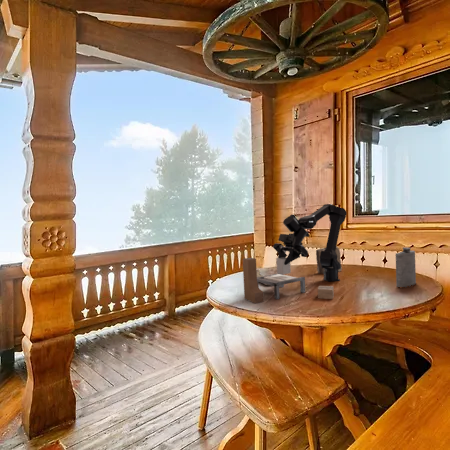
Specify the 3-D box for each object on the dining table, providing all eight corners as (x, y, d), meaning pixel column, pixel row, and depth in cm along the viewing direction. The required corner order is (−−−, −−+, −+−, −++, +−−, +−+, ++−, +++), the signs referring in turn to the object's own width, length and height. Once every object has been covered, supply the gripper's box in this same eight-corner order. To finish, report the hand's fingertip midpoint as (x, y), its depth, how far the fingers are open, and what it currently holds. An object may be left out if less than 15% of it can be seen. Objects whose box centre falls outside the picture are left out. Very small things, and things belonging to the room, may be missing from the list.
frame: (276, 299, 134) (276, 283, 134) (254, 292, 148) (253, 277, 147) (305, 292, 144) (304, 277, 143) (281, 286, 157) (281, 272, 157)
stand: (319, 294, 139) (319, 285, 138) (333, 295, 136) (333, 286, 136) (318, 298, 133) (317, 289, 133) (332, 299, 131) (332, 289, 131)
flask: (418, 283, 150) (417, 246, 149) (403, 288, 142) (402, 249, 141) (410, 282, 153) (409, 245, 152) (395, 287, 145) (394, 248, 144)
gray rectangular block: (283, 271, 150) (283, 257, 150) (290, 273, 146) (290, 258, 146) (276, 273, 148) (276, 258, 147) (283, 274, 144) (283, 259, 144)
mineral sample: (339, 270, 191) (338, 245, 190) (343, 271, 187) (343, 246, 186) (315, 273, 186) (314, 248, 185) (319, 274, 182) (319, 248, 181)
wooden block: (264, 301, 132) (262, 259, 131) (255, 303, 130) (253, 260, 129) (252, 297, 140) (250, 257, 139) (244, 299, 138) (242, 258, 137)
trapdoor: (278, 287, 137) (278, 281, 137) (261, 283, 147) (261, 277, 147) (297, 283, 144) (297, 277, 143) (279, 279, 154) (279, 273, 154)
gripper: (274, 227, 156) (258, 251, 151) (302, 227, 140) (285, 255, 135) (286, 241, 161) (271, 265, 155) (315, 243, 145) (299, 270, 140)
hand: (281, 263), depth 146 cm, fingers closed on gray rectangular block, 4 cm apart
